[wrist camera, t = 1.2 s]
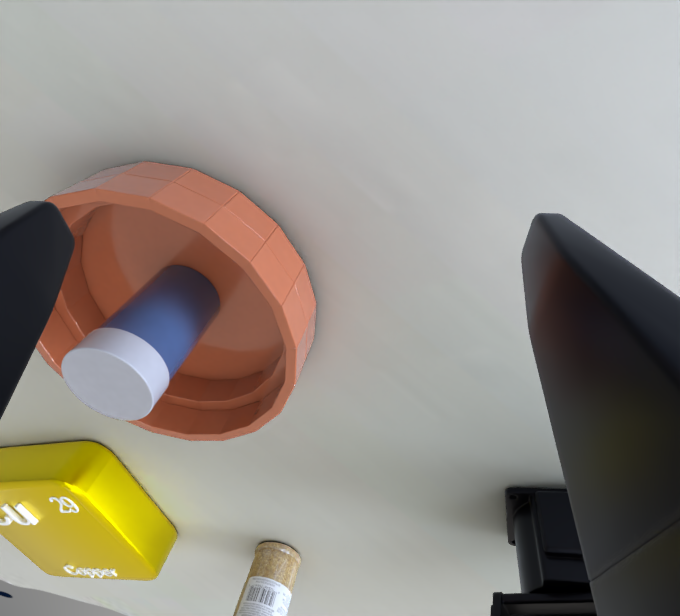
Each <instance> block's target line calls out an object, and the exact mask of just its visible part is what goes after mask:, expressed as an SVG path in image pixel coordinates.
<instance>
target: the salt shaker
mask: <svg viewBox="0 0 680 616" xmlns="http://www.w3.org/2000/svg"><path fill="white" fill-rule="evenodd" d="M219 311H220V298H219V295H218V293H217V291H216V289H215V287H214V286H213V284H212V283H211V282H210V281H209V280H208V279H207V278H206V277H205V276H204V275H203V274H201V273H200V272H198V271H196V270H194V269H192V268H190V267H186V266H182V265H170V266H166V267H163V268H162V269H160V270H159V271H158V272H157V273H156V274H154V275H153V276H152V277H151V278H150V279H149V280H148V281H147V282H146V283H145V284H144V285H143V286H142V287H141V288H139V289H138V290H137V291H136V292H135V293H134V294H133V295H132V296H131V297H130V298H129V299H128V300H127V301H126V302H125V303H123V304H122V305H121V306H120V307H119V308H118V309H117V310H116V311H115V312H114V313H113V314H112V315H111V316H110V317H109V318H107V319H106V320H105V321H104V322H103V323H102V324H101V325H100V326H99V327H98V328H97V329H96V330H93V331H91V332H90V333H88V334H87V335H86V336H85V337H84V338H83V339H82V340H81V341H80V342H79V343H77V344H76V345H75V346H74V347H73V348H72V349H71V350H70V351H69V352H68V353H67V354H66V355H65V356H64V358H63V360H62V364H61V371H62V375H63V378H64V380H65V382H66V384H67V386H68V387H69V389H70V390H71V391H72V393H73V394H74V395H75V396H76V397H77V398H78V399H79V400H80V401H82V402H83V403H84V404H85V405H87V406H88V407H90V408H91V409H93V410H95V411H96V412H98V413H100V414H102V415H105V416H107V417H110V418H113V419H118V420H124V421H133V420H139V419H141V418H143V417H145V416H147V415H148V414H149V413H150V412H151V410H152V409H153V408H154V406H155V405H156V403H157V402H158V401H159V399H160V398H161V397H162V395H163V394H164V392H165V391H166V390H167V388H168V386H169V382H170V381H171V379H172V378H173V377H174V375H175V374H176V373H177V371H178V370H179V368H180V367H181V366H182V364H183V363H184V362H185V360H186V359H187V357H188V356H189V355H190V353H191V352H192V351H193V349H194V348H195V347H196V345H197V344H198V342H199V341H200V340H201V338H202V337H203V336H204V334H205V333H206V331H207V330H208V329H209V327H210V326H211V325H212V323H213V322H214V320H215V319H216V318H217V316H218V314H219Z"/></svg>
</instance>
